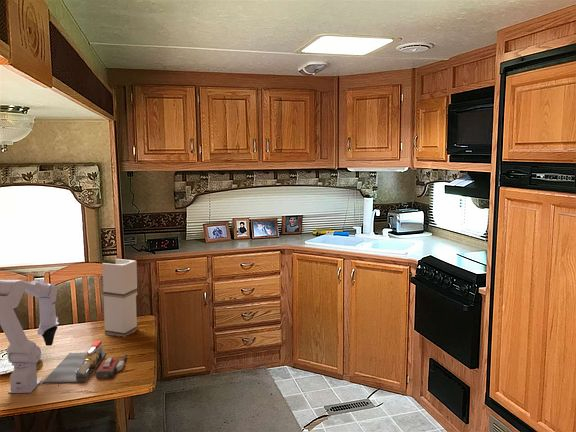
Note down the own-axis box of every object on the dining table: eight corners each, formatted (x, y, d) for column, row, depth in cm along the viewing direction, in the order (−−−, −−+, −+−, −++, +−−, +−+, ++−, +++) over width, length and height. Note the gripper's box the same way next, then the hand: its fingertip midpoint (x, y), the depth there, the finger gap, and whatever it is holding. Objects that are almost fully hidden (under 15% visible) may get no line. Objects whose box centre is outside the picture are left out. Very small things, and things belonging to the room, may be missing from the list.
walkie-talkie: (117, 379, 186) (128, 357, 206) (117, 369, 185) (128, 347, 205) (94, 380, 185) (107, 358, 205) (93, 369, 184) (107, 348, 204)
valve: (86, 378, 184) (86, 366, 183) (74, 379, 184) (74, 366, 183) (104, 354, 206) (104, 343, 205) (94, 354, 205) (94, 343, 205)
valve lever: (92, 355, 193) (92, 352, 193) (85, 355, 193) (85, 352, 192) (101, 343, 205) (101, 340, 205) (95, 343, 205) (95, 340, 205)
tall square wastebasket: (138, 329, 237) (136, 260, 232) (124, 337, 227) (122, 265, 222) (118, 326, 240) (116, 258, 235) (104, 334, 230) (102, 263, 225)
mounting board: (84, 382, 182) (84, 381, 182) (42, 383, 181) (42, 381, 181) (105, 354, 208) (105, 352, 208) (69, 354, 207) (69, 353, 207)
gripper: (49, 319, 185) (51, 352, 187) (65, 306, 199) (66, 337, 201) (31, 319, 184) (33, 352, 186) (47, 306, 199) (49, 338, 200)
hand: (49, 345), depth 193 cm, fingers closed
